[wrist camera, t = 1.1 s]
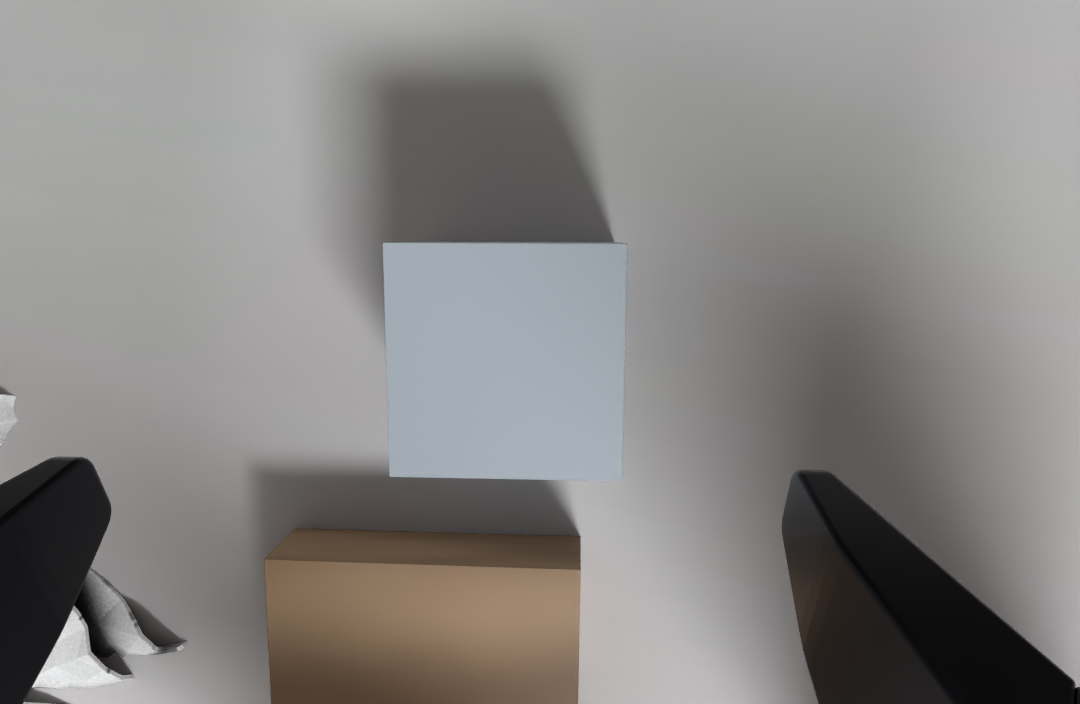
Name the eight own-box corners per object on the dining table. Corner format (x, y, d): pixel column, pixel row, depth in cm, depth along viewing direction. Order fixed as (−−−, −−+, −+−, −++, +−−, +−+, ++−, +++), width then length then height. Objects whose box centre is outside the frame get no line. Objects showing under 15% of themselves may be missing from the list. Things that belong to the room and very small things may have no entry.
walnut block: (575, 787, 27) (574, 854, 24) (310, 774, 28) (278, 839, 25) (580, 531, 26) (580, 570, 23) (299, 523, 26) (264, 559, 23)
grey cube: (610, 422, 25) (621, 481, 19) (433, 419, 25) (389, 476, 19) (614, 242, 24) (626, 244, 18) (430, 241, 24) (382, 242, 18)
